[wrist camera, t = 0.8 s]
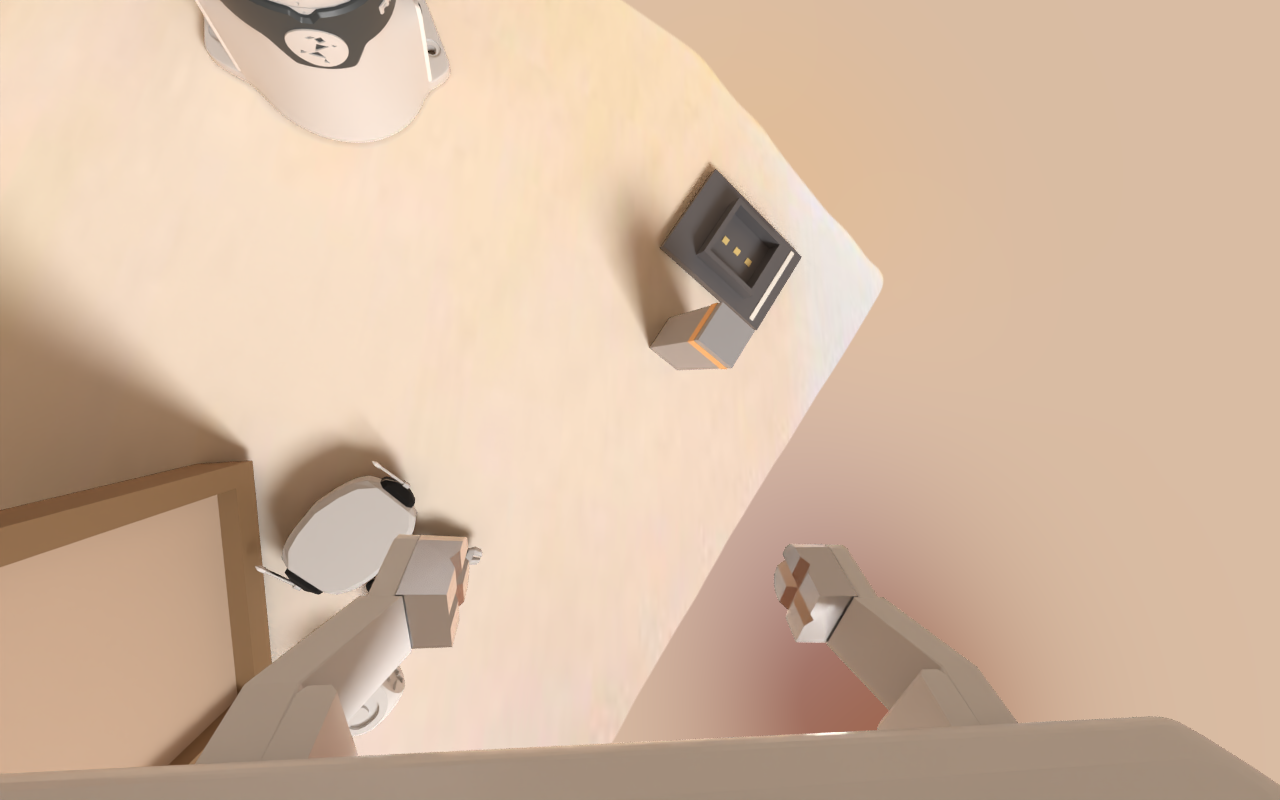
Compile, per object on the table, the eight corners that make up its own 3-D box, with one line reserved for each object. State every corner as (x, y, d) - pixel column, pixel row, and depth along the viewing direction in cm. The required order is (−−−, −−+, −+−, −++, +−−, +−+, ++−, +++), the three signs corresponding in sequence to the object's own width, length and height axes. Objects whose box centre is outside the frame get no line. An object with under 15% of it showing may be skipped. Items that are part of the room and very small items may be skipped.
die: (375, 638, 44) (364, 668, 40) (408, 671, 46) (402, 705, 41) (326, 676, 43) (309, 712, 38) (362, 710, 44) (350, 748, 40)
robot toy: (488, 540, 49) (374, 447, 43) (493, 558, 45) (368, 457, 39) (397, 634, 46) (263, 546, 41) (393, 661, 42) (244, 568, 37)
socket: (659, 247, 53) (670, 240, 51) (711, 172, 55) (724, 161, 53) (752, 330, 58) (766, 328, 56) (796, 258, 61) (812, 253, 58)
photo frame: (257, 458, 40) (-26, 568, 17) (279, 692, 42) (45, 1089, 18) (20, 479, 35) (-865, 679, 12) (54, 746, 36) (-676, 1401, 13)
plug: (648, 348, 53) (697, 340, 42) (669, 317, 54) (722, 301, 43) (677, 370, 55) (731, 368, 44) (696, 340, 56) (755, 330, 44)
